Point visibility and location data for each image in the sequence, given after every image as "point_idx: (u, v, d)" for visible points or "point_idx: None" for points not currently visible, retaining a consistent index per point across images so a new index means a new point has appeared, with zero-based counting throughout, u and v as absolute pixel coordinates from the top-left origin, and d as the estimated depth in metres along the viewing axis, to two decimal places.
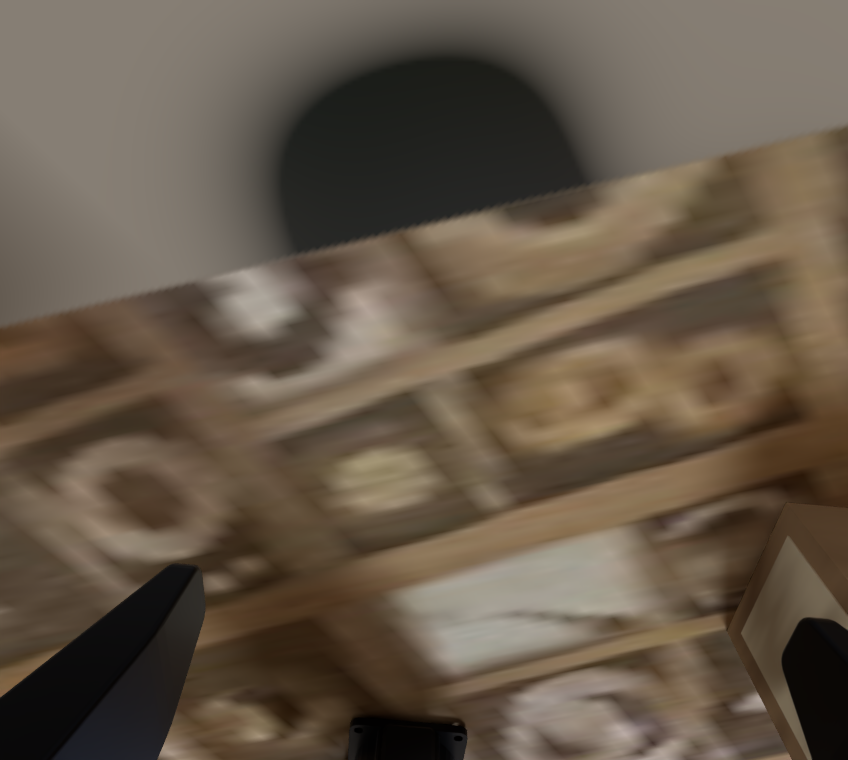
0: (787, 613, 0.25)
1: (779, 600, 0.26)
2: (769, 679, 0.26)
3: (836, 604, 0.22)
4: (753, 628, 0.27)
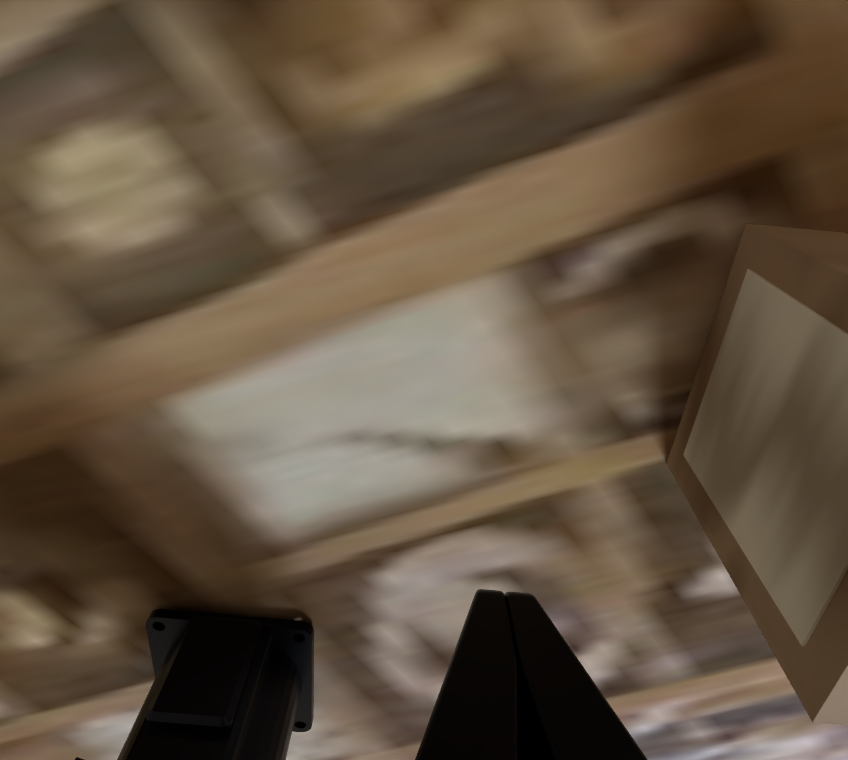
0: (745, 389, 0.16)
1: (736, 375, 0.16)
2: (719, 501, 0.16)
3: (822, 324, 0.13)
4: (699, 438, 0.18)
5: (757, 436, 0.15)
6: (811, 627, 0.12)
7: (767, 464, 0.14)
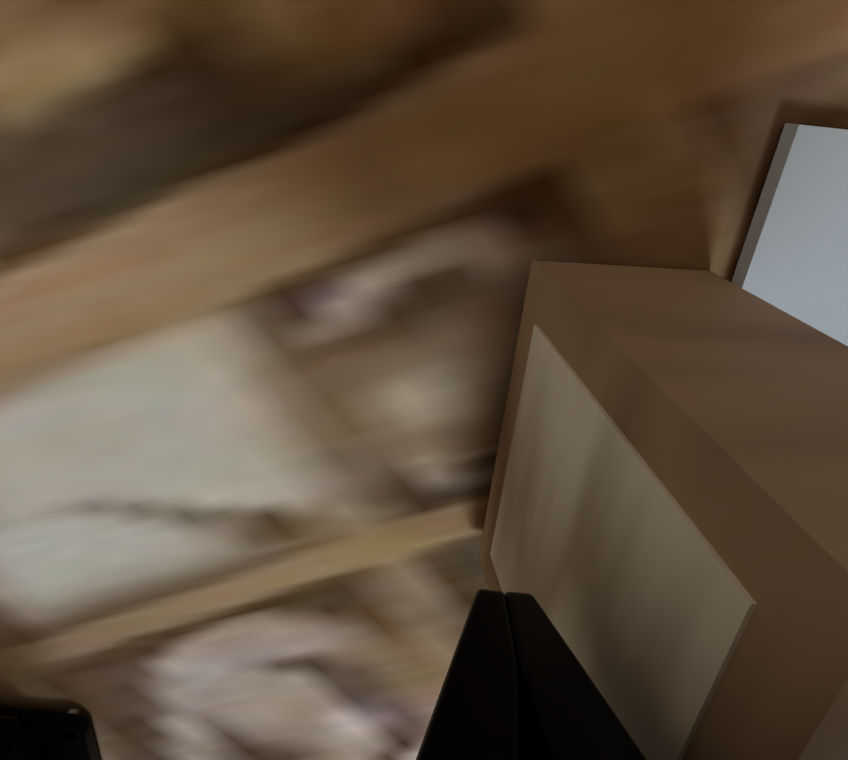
0: (539, 489, 0.12)
1: (530, 467, 0.12)
2: None
3: (608, 425, 0.09)
4: (502, 538, 0.14)
5: (553, 560, 0.11)
6: None
7: (562, 610, 0.10)
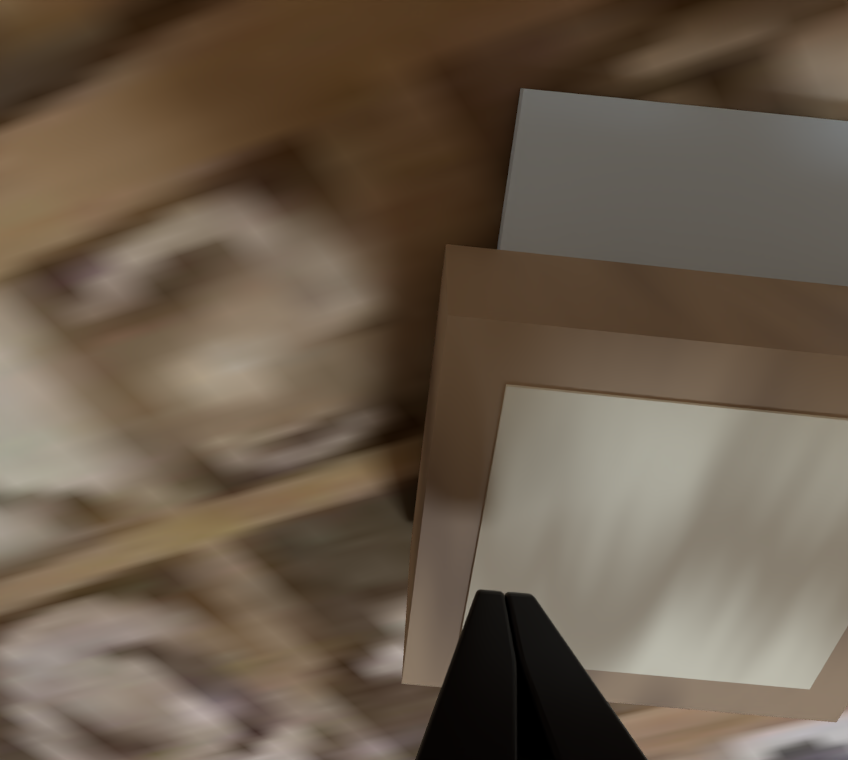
0: (582, 532, 0.10)
1: (542, 526, 0.10)
2: (590, 661, 0.12)
3: (736, 414, 0.09)
4: None
5: (637, 568, 0.11)
6: (811, 670, 0.12)
7: (685, 588, 0.11)
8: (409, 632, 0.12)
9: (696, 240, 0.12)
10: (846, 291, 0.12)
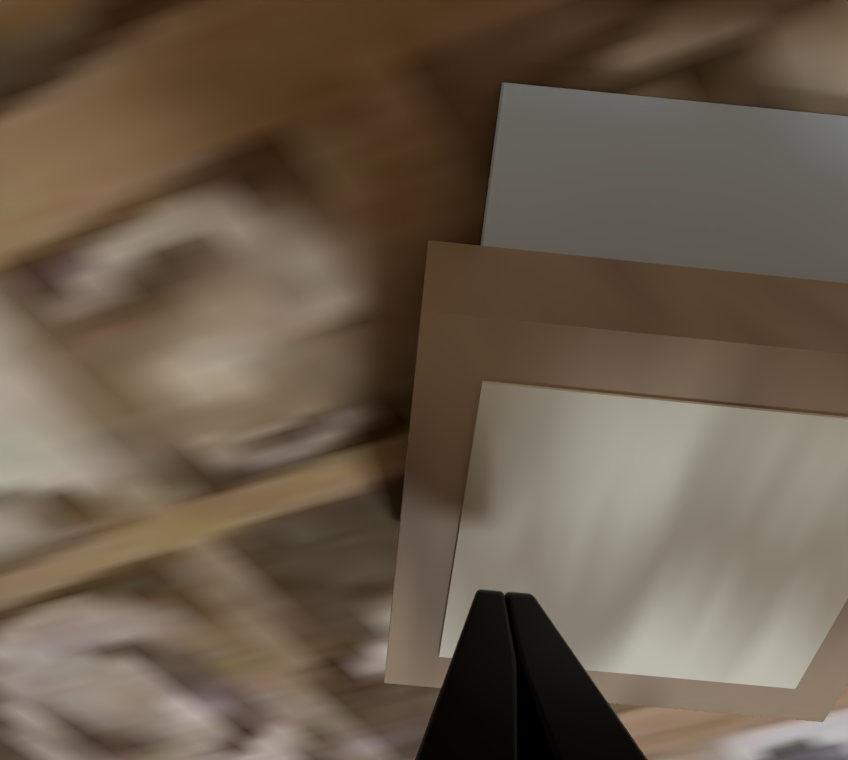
0: (563, 530, 0.10)
1: (522, 524, 0.10)
2: None
3: (715, 411, 0.09)
4: None
5: (618, 567, 0.11)
6: (797, 669, 0.12)
7: (667, 587, 0.11)
8: (390, 631, 0.11)
9: (681, 235, 0.12)
10: (832, 287, 0.12)
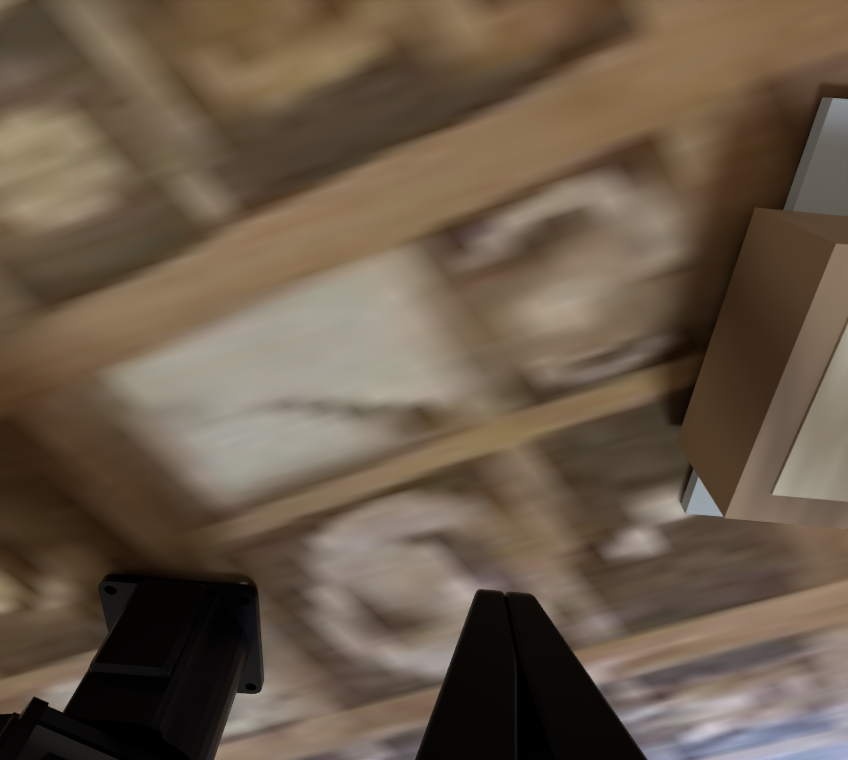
0: None
1: None
2: None
3: None
4: (805, 467, 0.16)
5: None
6: None
7: None
8: (742, 475, 0.17)
9: None
10: None
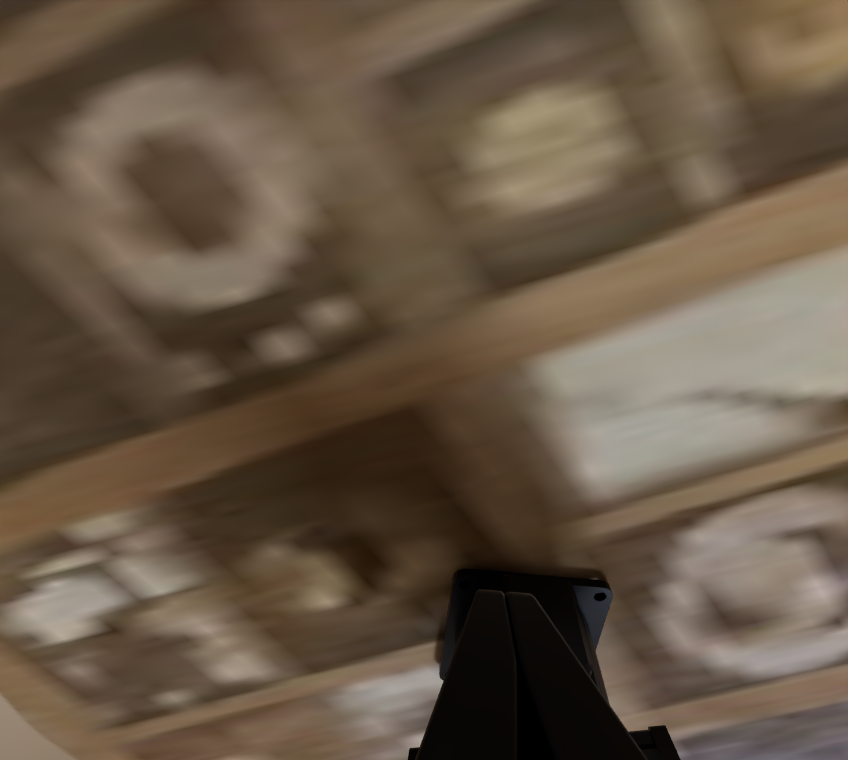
0: None
1: None
2: None
3: None
4: None
5: None
6: None
7: None
8: None
9: None
10: None
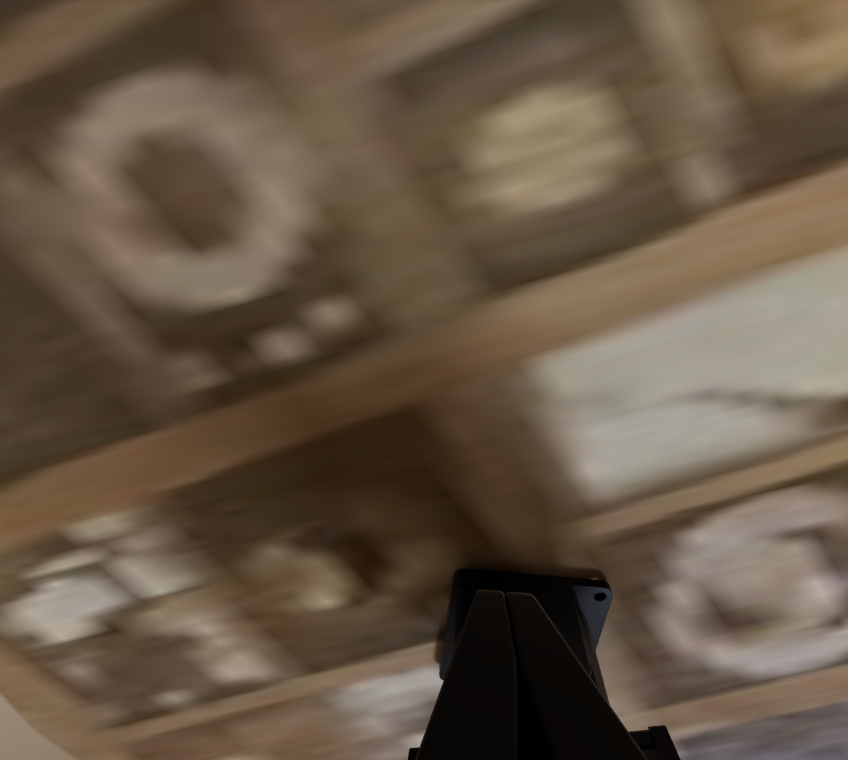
0: None
1: None
2: None
3: None
4: None
5: None
6: None
7: None
8: None
9: None
10: None
